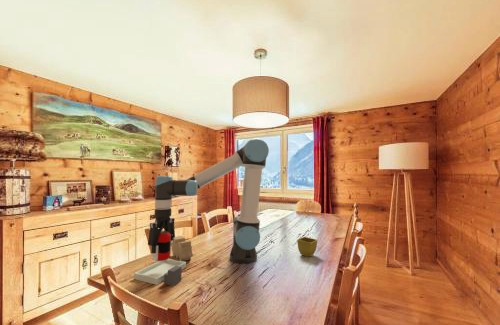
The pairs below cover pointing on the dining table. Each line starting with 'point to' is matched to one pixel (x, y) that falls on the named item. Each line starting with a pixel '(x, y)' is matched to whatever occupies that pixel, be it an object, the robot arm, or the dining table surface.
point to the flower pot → (307, 246)
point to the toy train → (181, 248)
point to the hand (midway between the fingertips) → (161, 256)
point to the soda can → (164, 246)
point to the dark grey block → (173, 276)
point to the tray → (157, 271)
